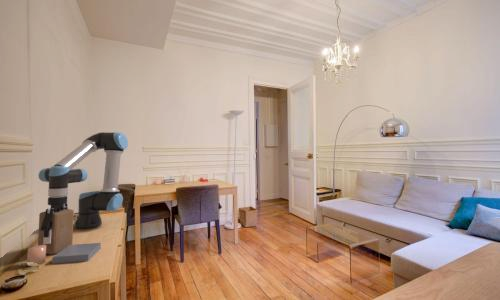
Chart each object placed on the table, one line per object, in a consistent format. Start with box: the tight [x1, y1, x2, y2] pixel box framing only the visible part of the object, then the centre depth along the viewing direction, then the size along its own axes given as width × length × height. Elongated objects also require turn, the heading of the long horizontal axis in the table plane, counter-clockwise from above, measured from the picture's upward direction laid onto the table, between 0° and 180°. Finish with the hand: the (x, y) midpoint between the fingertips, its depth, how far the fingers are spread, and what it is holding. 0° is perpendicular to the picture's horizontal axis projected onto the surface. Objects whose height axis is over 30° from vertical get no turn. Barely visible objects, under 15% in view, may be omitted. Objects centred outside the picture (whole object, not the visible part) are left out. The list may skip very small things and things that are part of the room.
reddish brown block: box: [26, 244, 47, 266], centre depth 99 cm, size 6×6×7 cm
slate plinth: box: [51, 242, 102, 265], centre depth 108 cm, size 14×14×3 cm
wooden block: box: [37, 208, 74, 256], centre depth 113 cm, size 10×10×20 cm
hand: (55, 238), depth 113 cm, fingers open, 13 cm apart
